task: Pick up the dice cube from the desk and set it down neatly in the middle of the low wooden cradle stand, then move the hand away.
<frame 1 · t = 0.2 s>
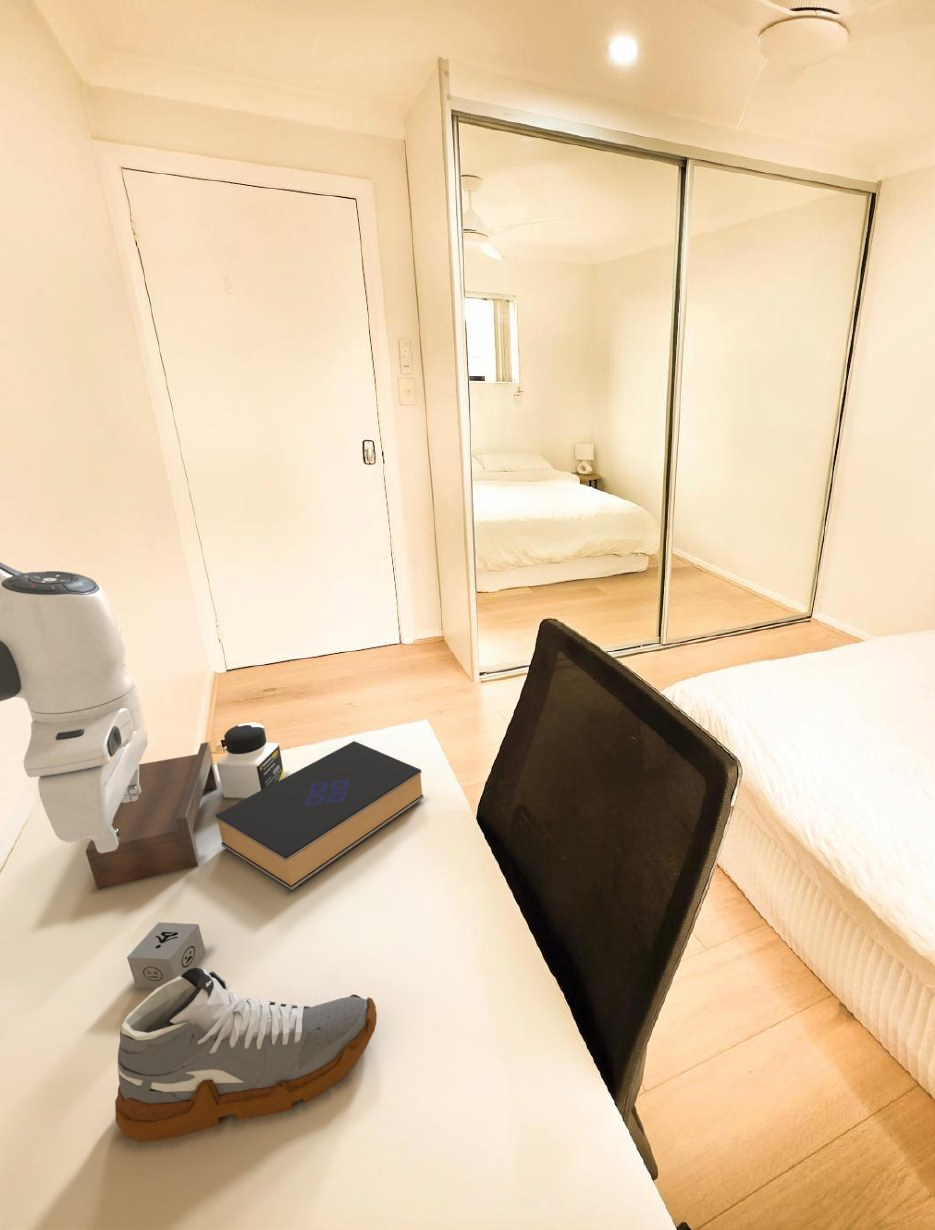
hand: (121, 821, 71), 19 cm above the table, tool pointing down, fingers open, 8 cm apart
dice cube: (173, 972, 74), on the table
wooden cradle stand: (165, 831, 97), on the table
sneaker: (259, 1077, 63), on the table
medicine bottle: (255, 787, 109), on the table
book: (329, 825, 100), on the table
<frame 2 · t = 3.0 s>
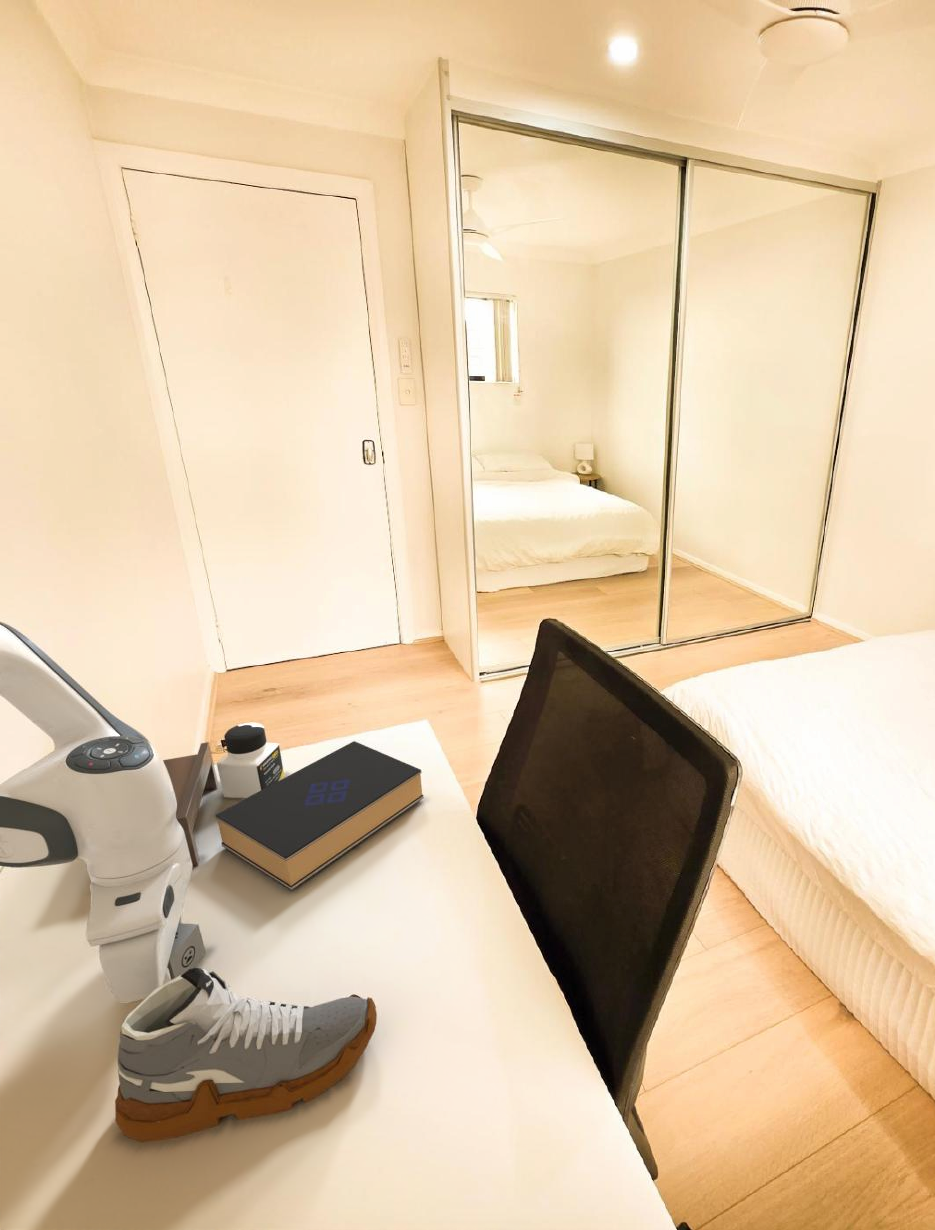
hand: (169, 960, 74), 2 cm above the table, tool pointing down, fingers closed on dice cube, 5 cm apart
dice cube: (173, 972, 74), on the table, touching gripper
everything else where it was.
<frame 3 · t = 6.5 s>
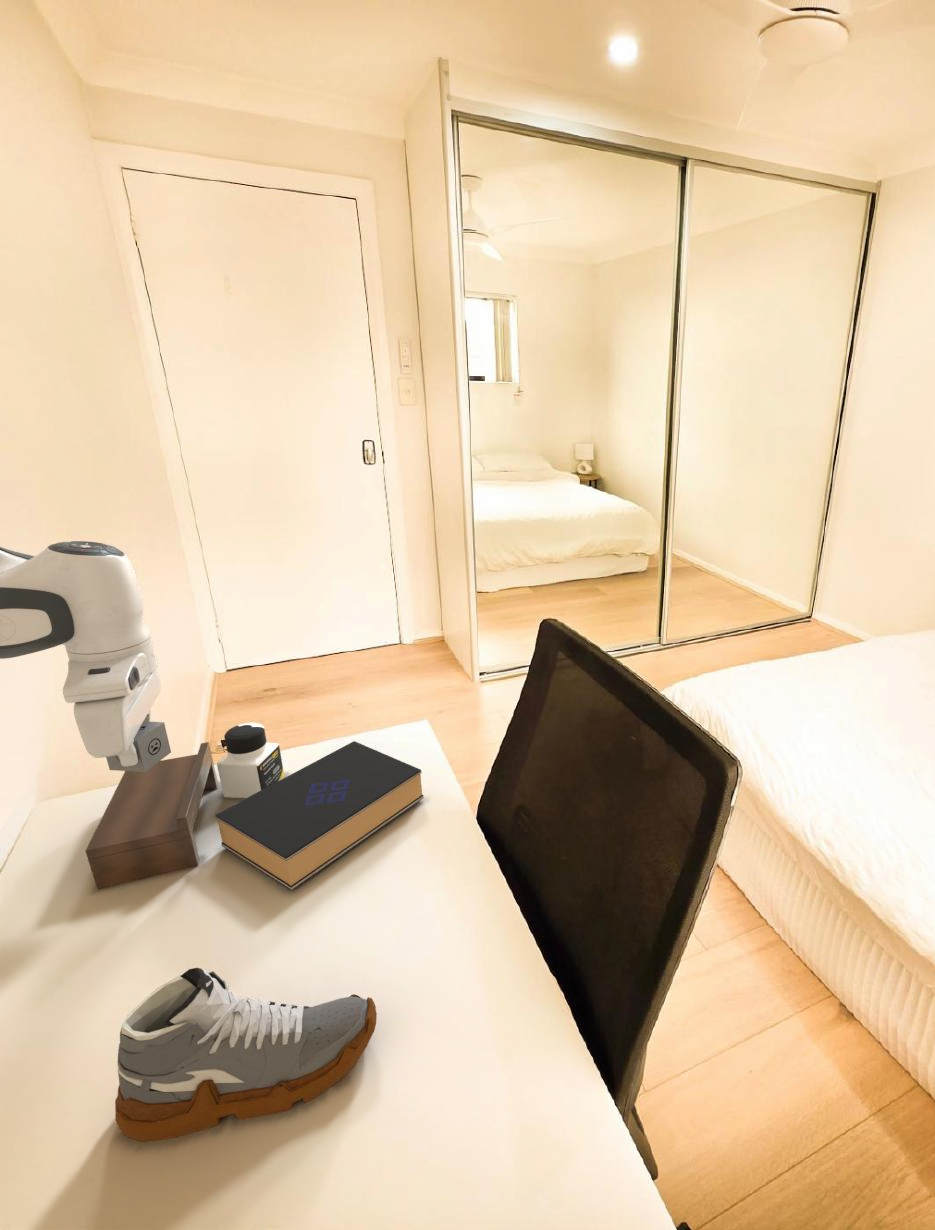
hand: (138, 750, 86), 19 cm above the table, tool pointing down, fingers closed on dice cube, 5 cm apart
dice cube: (141, 762, 86), point 17 cm above the table, touching gripper
everything else where it was.
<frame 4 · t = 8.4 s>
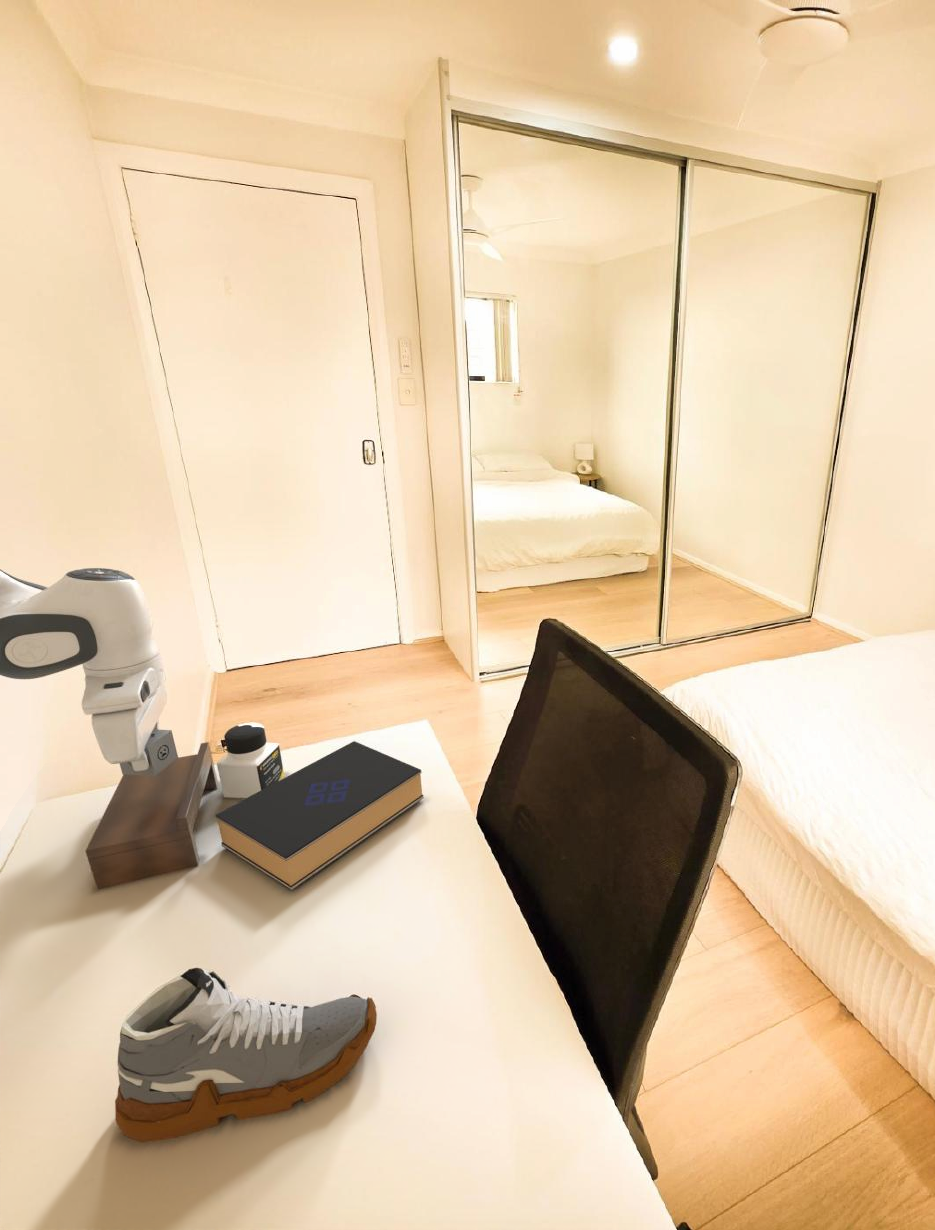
hand: (148, 756, 93), 13 cm above the table, tool pointing down, fingers closed on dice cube, 5 cm apart
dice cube: (151, 766, 94), point 12 cm above the table, touching gripper
everything else where it was.
when the fingers open (9 cm above the table, at t = 10.1 s): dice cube stays where it is, resting on wooden cradle stand.
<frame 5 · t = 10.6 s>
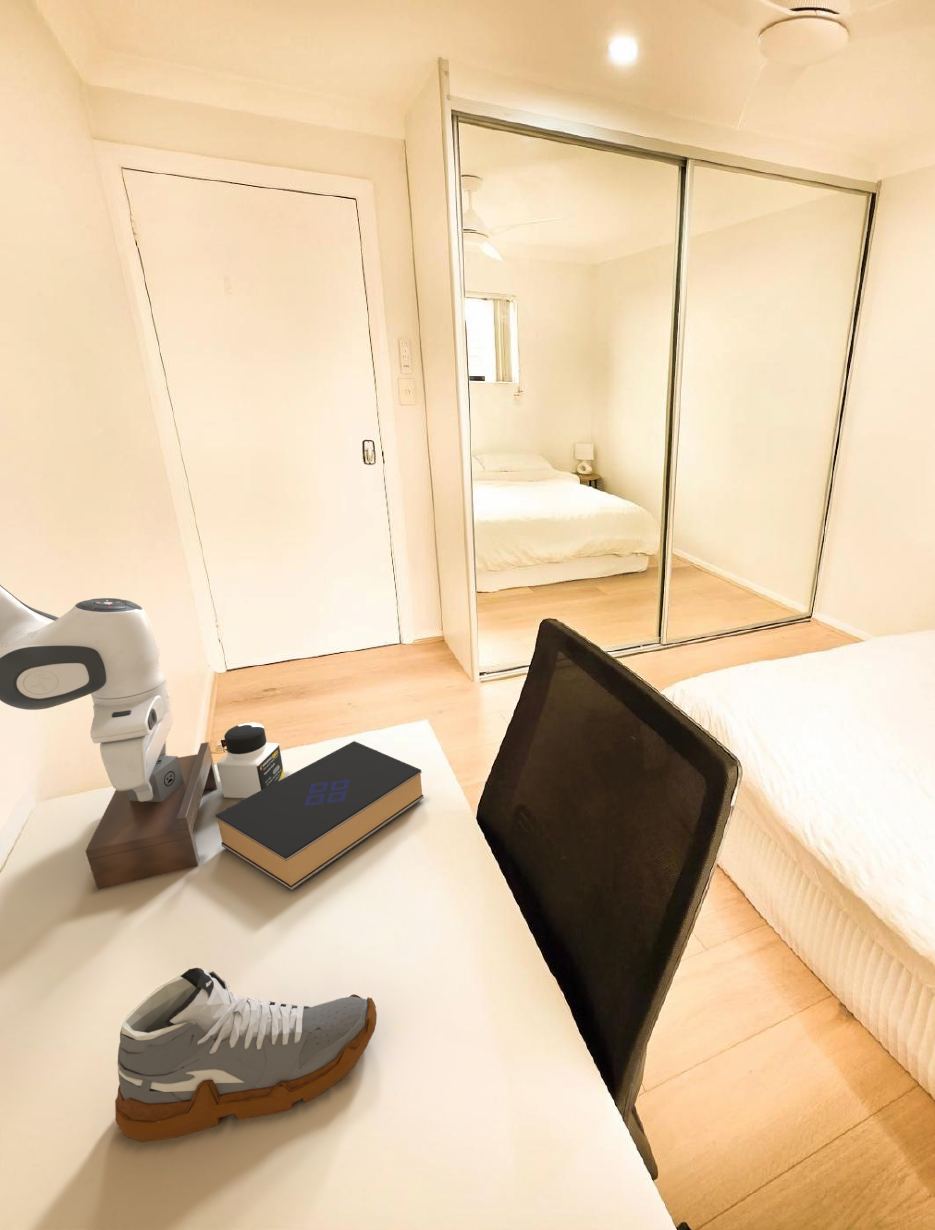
hand: (154, 780, 95), 9 cm above the table, tool pointing down, fingers open, 8 cm apart
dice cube: (157, 792, 96), point 7 cm above the table, touching wooden cradle stand
everything else where it was.
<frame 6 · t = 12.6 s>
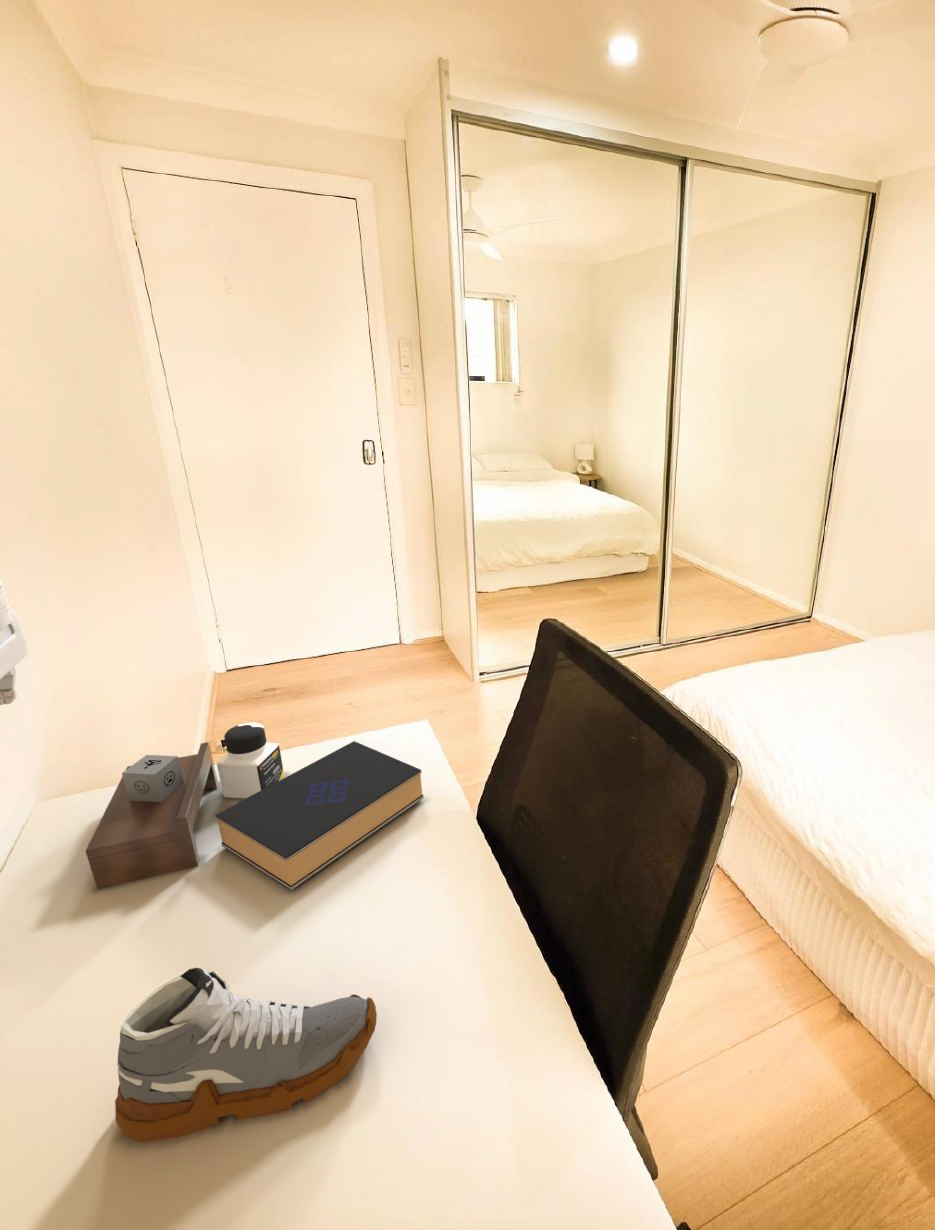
nothing on the table moved.
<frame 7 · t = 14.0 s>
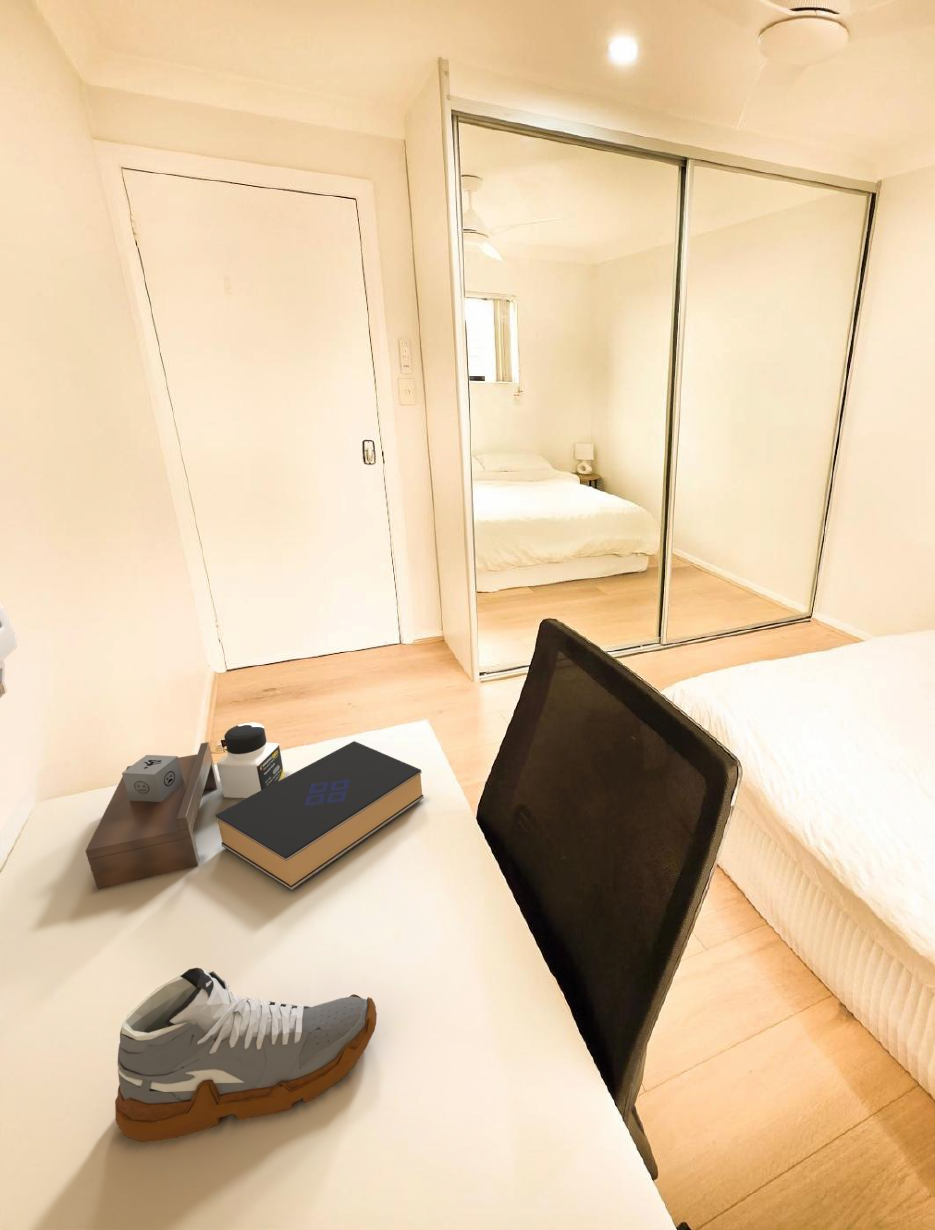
nothing on the table moved.
at the end: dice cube inside the target area on the wooden cradle stand (0.0 cm from its centre), point 6.8 cm above the wooden cradle stand's base; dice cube tilted 0°; the gripper is holding nothing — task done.
